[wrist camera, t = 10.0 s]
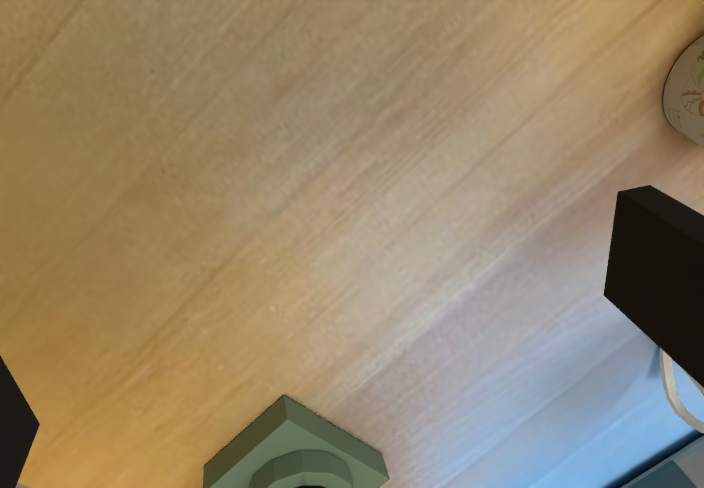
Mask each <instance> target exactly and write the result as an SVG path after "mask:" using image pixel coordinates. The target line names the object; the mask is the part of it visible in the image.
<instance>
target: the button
mask: <svg viewBox="0 0 704 488" xmlns="http://www.w3.org/2000/svg"><path fill="white" fill-rule="evenodd" d="M296 488H324V487H322V486H311V485H302V486H299V487H296Z"/></svg>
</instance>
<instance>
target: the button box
mask: <svg viewBox="0 0 704 488" xmlns="http://www.w3.org/2000/svg"><path fill="white" fill-rule="evenodd" d="M389 479H390V478H389V475H388V472H387V469H386V465H385V462H384V459H383V456H382V454H381V453H379V452H377V451H376V450H374V449H372V448H371V447H369V446H367V445H366V444H364V443H362V442H361V441H359V440H358V439H356V438H354V437H353V436H351V435H349V434H348V433H346V432H344V431H343V430H341V429H339V428H338V427H336V426H334V425H333V424H331V423H330V422H328V421H326V420H325V419H323V418H321V417H320V416H318V415H316V414H315V413H313V412H311V411H310V410H308V409H306V408H305V407H303V406H301V405H300V404H298V403H297V402H295V401H293V400H292V399H290V398H288V397H287V396H285V395H283V396H282V397H281V398H280V399H279V400H278V401H277V402H275V403H274V404H273V405H272V406H271V407H270V408H269V409H268V410H266V411H265V412H264V413H263V414H262V415H261V416H260V417H259V418H258V419H256V420H255V421H254V422H253V423H252V424H251V425H250V426H249V427H247V428H246V429H245V430H244V431H243V432H242V433H241V434H240V435H239V436H237V437H236V438H235V439H234V440H233V441H232V442H231V443H230V444H228V445H227V446H226V447H225V448H224V449H223V450H222V451H221V452H219V453H218V454H217V455H216V456H215V457H214V458H213V459H212V460H211V461H209V462H208V463H207V464H206V465H205V466H204V477H203V488H296V487H299V486H302V485H311V486H322V487H324V488H379V487H380V486H382V485H383V484H384V483H385V482H387V481H388V480H389Z"/></svg>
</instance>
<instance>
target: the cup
mask: <svg viewBox="0 0 704 488" xmlns="http://www.w3.org/2000/svg"><path fill="white" fill-rule="evenodd" d="M660 363H661V373H662V381H663V386H664V390H665V393H666V397H667V400H668V402H669V403H670V405H671V406H672V408H673V409H674V411H675V413H676V414H677V415H678V416H679V417H681V418H682V419H683V420H684V421H685V422H686V423H687V424H689V425H690V426H692V427H693V428H695V429H696V430H698V431H699V432H701V433H704V423H702V422H701V421H699V420H698V419H696V418H695V417H694V416H693V415H692V414H691V413H689V412H688V411H687V410H686V409H685V407H684V405H683V404H682V402H681V401H680V399H679V397H678V394H677V390H676V386H675V382H674V374H673V366H672V358H671V357H670V356H669V355H668V354H666V353H665V352H664V351H663V350H662V349H661V348H660ZM681 368H682V367H681ZM682 369H683V368H682ZM683 370H684V369H683ZM684 371H685V370H684ZM685 373H686V374H687V375H688V376H689V378H690V379H691V380H692V381H693V383H694V384H695V385H696V386H697V388H698V389H699V390H700V391H701V393H702V394H703V395H704V388H703V387H702V386H701V385H700V384H699V383H698V382H697V381H696V380H694V379H693V378H692V377H691V376H690V375H689V374H688V373H687V372H686V371H685Z"/></svg>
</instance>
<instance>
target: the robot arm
mask: <svg viewBox="0 0 704 488" xmlns="http://www.w3.org/2000/svg"><path fill="white" fill-rule="evenodd" d="M604 296H605V297H606V298H607V299H608V300H609V301H611V302H612V303H613V304H614V305H615V306H616V307H617V308H618V309H619V310H620V311H621V312H622V313H623V314H625V315H626V316H627V317H628V318H629V319H630V320H631V321H632V322H633V323H634V324H635V325H636V326H637V327H639V328H640V329H641V330H642V331H643V332H644V333H645V334H646V335H647V336H648V337H649V338H650V339H651V340H652V341H654V342H655V343H656V344H657V345H658V346H659V347H660V348H661V349H662V350H663V351H664V352H665V353H666V354H668V355H669V356H670V357H671V358H672V359H673V360H674V361H675V362H676V363H677V364H678V365H679V366H680V367H682V368H683V369H684V370H685V371H686V372H687V373H688V374H689V375H690V376H691V377H692V378H693V379H694V380H696V381H697V382H698V383H699V384H700V385H701V386H702V387H703V388H704V216H703V215H702V214H700V213H698V212H696V211H695V210H693V209H691V208H689V207H688V206H686V205H684V204H682V203H681V202H679V201H677V200H675V199H673V198H672V197H670V196H668V195H666V194H665V193H663V192H661V191H659V190H658V189H656V188H654V187H652V186H651V185H648V186H643V187H638V188H634V189H629V190H624V191H619V192H618V194H617V201H616V209H615V216H614V223H613V231H612V238H611V245H610V252H609V260H608V267H607V274H606V282H605V289H604ZM39 425H40V424H39V422H38V420H37V418H36V417H35V415H34V413H33V411H32V410H31V408H30V406H29V404H28V403H27V401H26V399H25V398H24V396H23V394H22V392H21V391H20V389H19V387H18V385H17V384H16V382H15V380H14V378H13V377H12V375H11V373H10V372H9V370H8V368H7V366H6V365H5V363H4V361H3V359H2V358H1V356H0V488H15V487H16V485H17V482H18V479H19V477H20V474H21V472H22V469H23V466H24V464H25V461H26V459H27V456H28V453H29V451H30V448H31V446H32V443H33V441H34V438H35V435H36V433H37V430H38V428H39Z"/></svg>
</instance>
